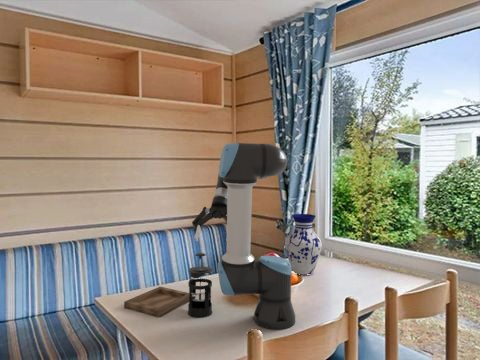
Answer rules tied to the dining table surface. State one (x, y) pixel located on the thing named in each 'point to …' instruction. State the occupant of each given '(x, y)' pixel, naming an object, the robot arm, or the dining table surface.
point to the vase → (303, 245)
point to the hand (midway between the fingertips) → (211, 240)
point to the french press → (200, 301)
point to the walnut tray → (157, 301)
